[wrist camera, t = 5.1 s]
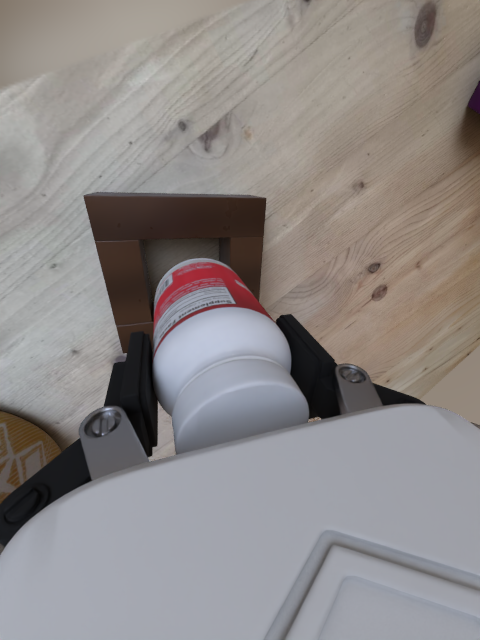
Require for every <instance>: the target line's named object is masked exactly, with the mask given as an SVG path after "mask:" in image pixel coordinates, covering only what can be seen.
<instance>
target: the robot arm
mask: <svg viewBox="0 0 480 640" xmlns="http://www.w3.org/2000/svg"><path fill="white" fill-rule="evenodd" d="M276 324H277V326H278V327H279V329H280V330H281V331H282V333H283V334H284V336H285V338H286V340H287V342H288V344H289V347H290V351H291V372H290V375H291V377H292V378H293V380H294V381H295V382H296V384H297V385H298V387H299V389H300V390H301V392H302V394H303V395H304V397H305V398H306V401H307V404H308V407H309V419H311V418H315V417H320V418H321V420H318V421H314V422H309V423H305V424H301V425H297V426H293V427H288V428H284V429H280V430H276V431H272V432H268V433H263V434H259V435H255V436H251V437H247V438H243V439H239V440H235V441H230V442H226V443H222V444H218V445H214V446H210V447H206V448H202V449H198V450H194V451H190V452H186V453H182V454H178V455H174V456H170V457H166V458H163V459H159V460H155V461H151V462H149V459H148V457H150V456H152V447H155V446H157V437H158V399H157V397H156V395H155V392H154V389H153V382H152V354H153V352H152V346H151V341H150V335H149V334H145V333H144V331H139V332H131V335H130V340H129V346H128V352H127V358H126V361H125V362H118V363H115V364H114V366H113V369H112V374H111V378H110V382H109V386H108V391H107V395H106V399H105V403H104V407H102V408H99V409H97V410H95V411H93V412H92V413H90V414H89V415H88V416H87V417H86V418H85V419H84V420H83V421H82V423H81V425H80V427H79V436H80V438H79V439H78V440H77V441H75V442H74V443H73V444H72V445H70V446H69V447H68V448H67V449H65V450H64V451H63V452H62V453H60V454H59V455H58V456H57V457H55V458H54V459H53V460H52V461H50V462H49V463H48V464H47V465H45V466H44V467H43V468H42V469H40V470H39V471H38V472H37V473H35V474H34V475H33V476H32V477H30V478H29V479H28V480H27V481H25V482H24V483H23V484H22V485H20V486H19V487H18V488H17V489H16V490H14V491H13V492H12V493H11V494H10V495H9V496H7V497H6V498H5V499H4V500H3V501H2V503H1V504H0V640H480V425H477V424H474V423H471V422H469V421H467V420H466V419H464V418H463V417H461V416H460V415H458V414H456V413H454V412H452V411H450V410H447V409H444V408H441V407H437V406H432V405H426V404H425V403H424V402H422V401H420V400H419V399H417V398H414V397H412V396H409V395H406V394H403V393H400V392H397V391H394V390H391V389H389V388H386V387H383V386H380V385H377V384H374V383H372V381H371V379H370V377H369V375H368V374H367V372H366V371H364V370H363V369H362V368H360V367H358V366H356V365H353V364H339V365H337V364H336V363H335V362H334V361H335V360H334V359H333V358H332V357H331V356H330V355H329V354H328V353H327V351H326V350H325V349H324V348H323V347H322V346H321V345H320V344H319V343H318V342H317V341H316V340H315V339H314V338H313V337H312V336H311V335H310V333H309V332H308V331H307V330H306V329H305V328H304V327H303V326H302V325H301V324H300V323H299V322H298V321H297V320H296V319H295V318H294V317H293V315H291V314H288V315H281V316H280V317H279V318H278V319H277V320H276Z"/></svg>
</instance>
